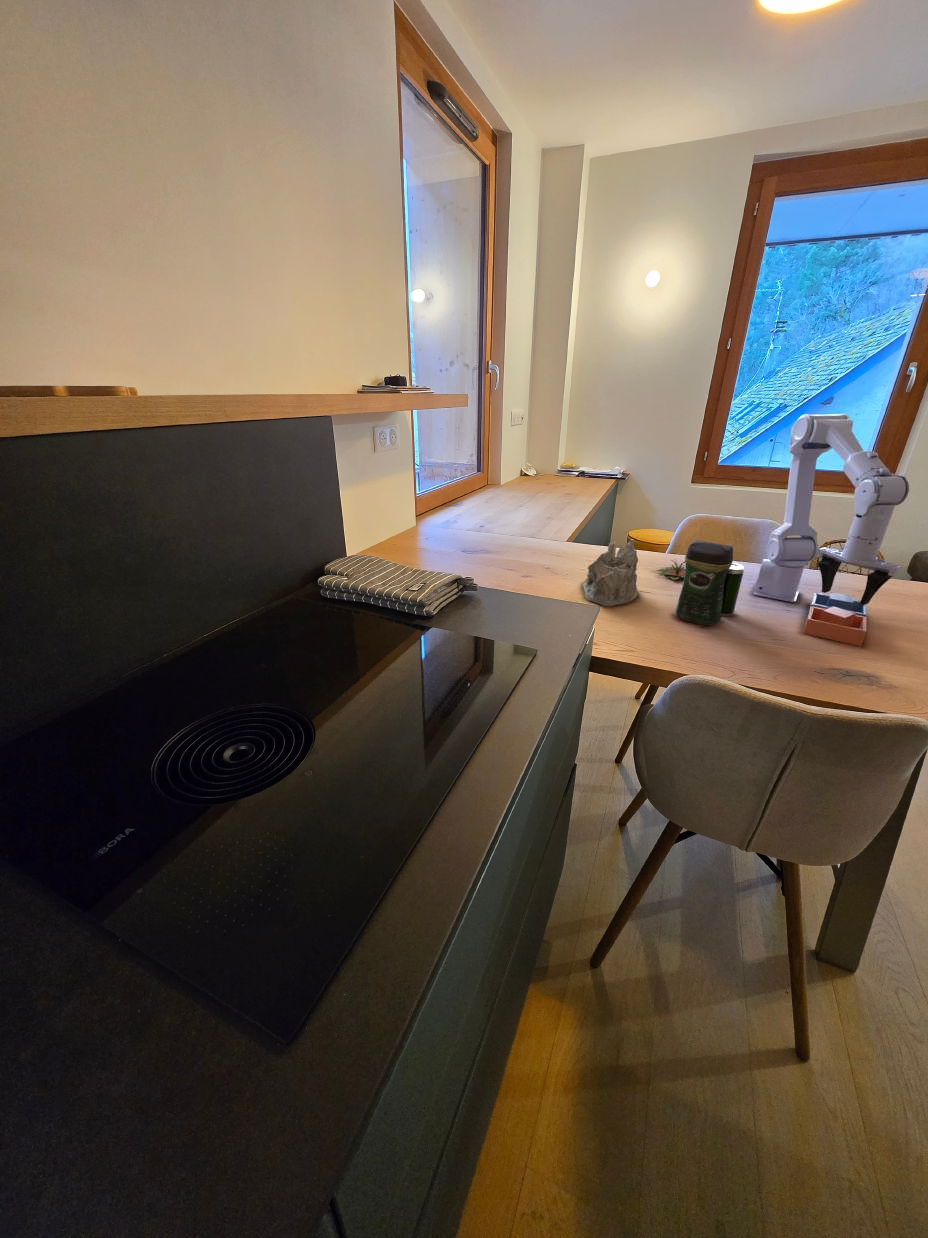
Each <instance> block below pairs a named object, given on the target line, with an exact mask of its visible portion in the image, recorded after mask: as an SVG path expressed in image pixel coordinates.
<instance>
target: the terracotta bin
mask: <svg viewBox="0 0 928 1238" xmlns="http://www.w3.org/2000/svg"><path fill="white" fill-rule="evenodd" d="M810 606H811V605H810ZM809 610H810V611H809ZM809 610H808V614H809V615H808V614H807V617H806V622H805V625H804V629H803V634H805V635H809V636H814V637H818V638H823V639H828V640H832V641H837V642H841V643H844V644H845V643H846V644H849V645H854V646H858V647H859V646H860V647H861V646H862V644H863V641H864V639H865V636H866V634H867V623H868V622H867V619H868V617H867V616H866V617H863V616H859V615H855V618H854V620H853V623H852V626H851V627H847V626H842V625H837V624H832V623H828V622H823V621H820V618H821V615H822V612H823V610H826V609H823V608H818V607H812V606H811V608H810V607H809Z"/></svg>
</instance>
